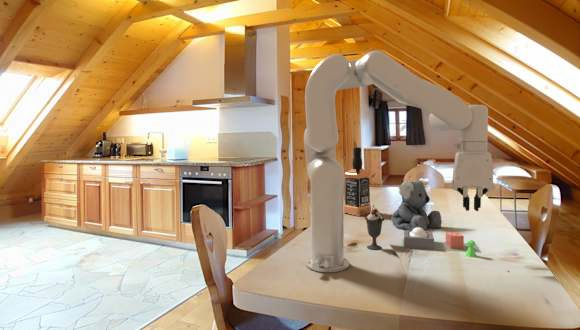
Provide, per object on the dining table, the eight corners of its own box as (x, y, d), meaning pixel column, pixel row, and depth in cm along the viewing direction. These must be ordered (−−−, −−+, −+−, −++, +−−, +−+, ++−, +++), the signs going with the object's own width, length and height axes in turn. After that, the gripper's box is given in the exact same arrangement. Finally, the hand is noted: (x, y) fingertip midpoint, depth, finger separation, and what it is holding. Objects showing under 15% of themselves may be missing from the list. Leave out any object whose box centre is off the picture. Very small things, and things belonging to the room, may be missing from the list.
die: (463, 248, 114) (463, 235, 114) (450, 248, 115) (450, 235, 114) (458, 244, 118) (458, 232, 118) (445, 244, 119) (445, 232, 118)
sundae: (370, 251, 118) (370, 206, 116) (360, 245, 124) (360, 202, 123) (388, 249, 119) (388, 204, 118) (378, 243, 126) (378, 201, 125)
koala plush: (421, 235, 136) (421, 183, 134) (381, 226, 150) (381, 179, 148) (444, 227, 147) (445, 179, 145) (405, 219, 161) (405, 176, 159)
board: (481, 257, 110) (481, 242, 110) (402, 251, 117) (402, 237, 117) (475, 248, 119) (476, 234, 118) (402, 243, 126) (402, 230, 125)
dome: (427, 244, 116) (428, 230, 116) (409, 243, 118) (409, 229, 118) (426, 240, 122) (426, 225, 121) (409, 238, 123) (409, 225, 123)
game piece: (461, 260, 108) (461, 240, 107) (464, 256, 111) (465, 237, 111) (477, 263, 105) (477, 242, 105) (480, 259, 108) (480, 239, 108)
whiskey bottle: (356, 210, 183) (355, 146, 180) (372, 213, 175) (372, 147, 173) (342, 213, 176) (342, 147, 174) (358, 216, 169) (358, 147, 166)
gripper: (444, 148, 104) (444, 211, 106) (506, 148, 100) (505, 213, 101) (442, 147, 111) (441, 206, 113) (499, 147, 107) (498, 208, 108)
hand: (471, 209), depth 107 cm, fingers closed
